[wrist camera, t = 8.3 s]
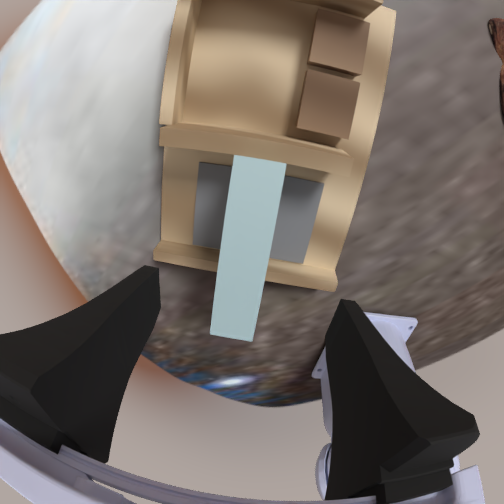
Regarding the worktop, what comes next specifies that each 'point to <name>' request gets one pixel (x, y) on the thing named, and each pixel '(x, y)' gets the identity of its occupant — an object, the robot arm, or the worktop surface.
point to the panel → (246, 245)
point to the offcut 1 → (338, 42)
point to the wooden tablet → (499, 48)
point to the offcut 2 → (327, 104)
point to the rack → (263, 118)
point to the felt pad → (288, 218)
